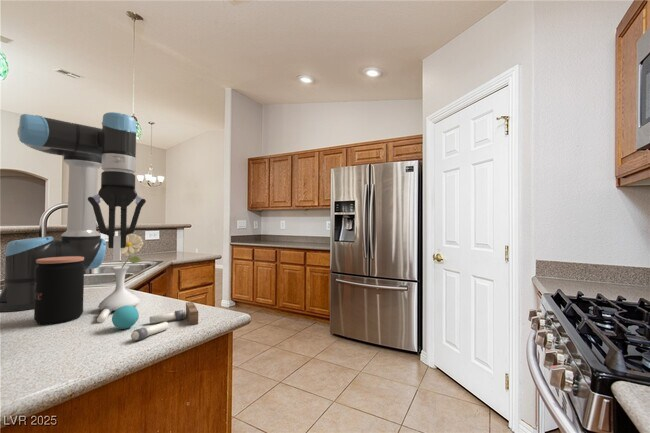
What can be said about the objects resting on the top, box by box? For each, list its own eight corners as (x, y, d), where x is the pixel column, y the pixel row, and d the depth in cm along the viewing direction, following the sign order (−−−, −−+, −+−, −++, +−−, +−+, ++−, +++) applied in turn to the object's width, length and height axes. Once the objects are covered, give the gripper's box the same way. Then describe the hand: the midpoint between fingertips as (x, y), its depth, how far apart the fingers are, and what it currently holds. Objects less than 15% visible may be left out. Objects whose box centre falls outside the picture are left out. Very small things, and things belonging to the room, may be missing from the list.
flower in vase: (88, 314, 92) (90, 234, 93) (114, 304, 103) (115, 232, 104) (131, 313, 92) (132, 234, 93) (151, 304, 104) (153, 232, 104)
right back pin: (170, 329, 78) (139, 340, 70) (163, 331, 79) (131, 343, 70) (168, 319, 79) (136, 329, 70) (161, 322, 79) (129, 332, 71)
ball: (117, 304, 82) (141, 301, 83) (119, 325, 82) (143, 322, 83) (106, 311, 76) (131, 307, 77) (108, 334, 76) (134, 330, 77)
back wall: (185, 313, 92) (185, 302, 92) (192, 313, 93) (192, 301, 93) (190, 325, 82) (190, 312, 82) (198, 324, 83) (198, 311, 83)
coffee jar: (44, 316, 89) (46, 257, 90) (88, 312, 94) (89, 255, 94) (25, 327, 80) (27, 261, 80) (75, 322, 84) (76, 259, 84)
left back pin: (107, 314, 84) (112, 305, 92) (95, 315, 83) (102, 305, 91) (106, 323, 84) (112, 313, 92) (95, 324, 83) (102, 314, 91)
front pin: (149, 319, 84) (184, 313, 89) (149, 327, 83) (185, 320, 87) (149, 313, 83) (184, 307, 88) (149, 321, 81) (185, 314, 86)
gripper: (85, 167, 73) (83, 263, 72) (147, 172, 79) (145, 260, 79) (90, 172, 79) (88, 260, 78) (147, 176, 86) (145, 257, 85)
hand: (117, 260), depth 79 cm, fingers closed
